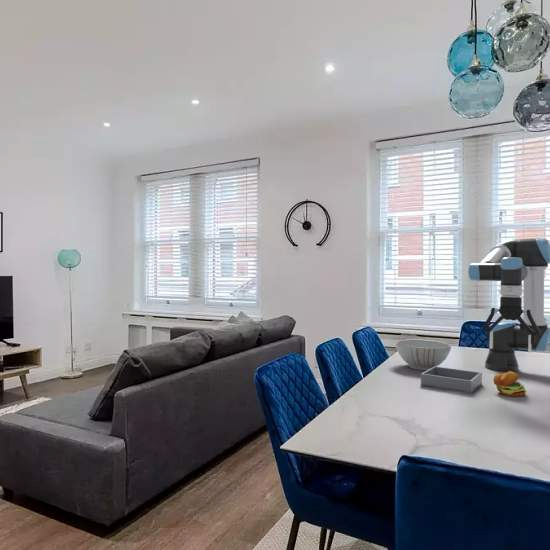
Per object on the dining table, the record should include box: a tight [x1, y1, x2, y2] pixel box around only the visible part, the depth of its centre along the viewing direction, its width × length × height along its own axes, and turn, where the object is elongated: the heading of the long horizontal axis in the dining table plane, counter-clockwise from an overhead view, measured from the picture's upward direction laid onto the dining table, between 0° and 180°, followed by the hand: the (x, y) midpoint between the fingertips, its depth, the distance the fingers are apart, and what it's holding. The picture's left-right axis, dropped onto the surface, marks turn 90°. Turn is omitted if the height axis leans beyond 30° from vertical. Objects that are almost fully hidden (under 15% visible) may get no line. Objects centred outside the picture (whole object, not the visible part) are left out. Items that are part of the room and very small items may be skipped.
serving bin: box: [420, 366, 483, 395], centre depth 188 cm, size 19×20×5 cm
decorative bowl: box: [395, 339, 452, 371], centre depth 222 cm, size 27×27×12 cm
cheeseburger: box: [493, 371, 527, 398], centre depth 175 cm, size 10×11×10 cm
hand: (510, 350), depth 175 cm, fingers open, 13 cm apart
